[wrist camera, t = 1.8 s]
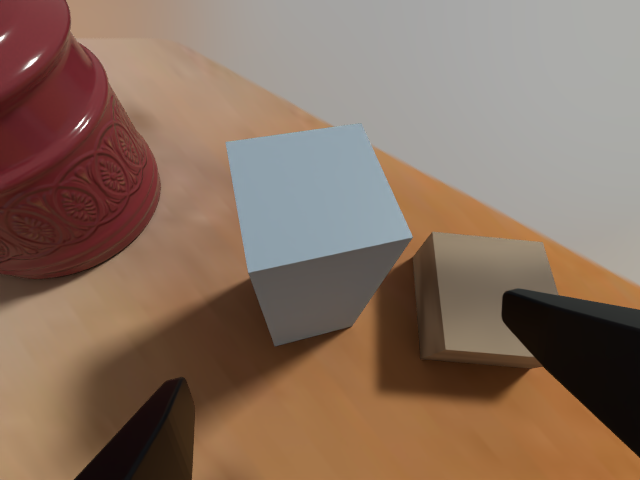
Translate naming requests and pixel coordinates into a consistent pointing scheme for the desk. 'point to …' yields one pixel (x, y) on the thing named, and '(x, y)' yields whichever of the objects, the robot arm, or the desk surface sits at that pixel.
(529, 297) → the robot arm
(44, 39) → the canister
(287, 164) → the blue pillar
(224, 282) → the desk surface
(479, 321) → the beige block
